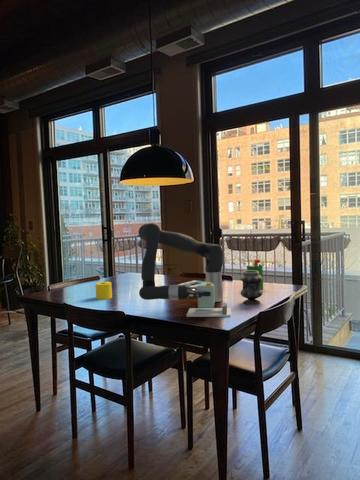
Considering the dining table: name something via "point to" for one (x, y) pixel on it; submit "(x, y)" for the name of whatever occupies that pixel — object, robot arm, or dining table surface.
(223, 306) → the din plate
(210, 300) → the block
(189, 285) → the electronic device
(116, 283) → the dining table surface
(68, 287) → the dining table surface
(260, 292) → the apothecary jar
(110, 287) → the yellow cylindrical piece
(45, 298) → the dining table surface
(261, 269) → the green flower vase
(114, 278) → the dining table surface
